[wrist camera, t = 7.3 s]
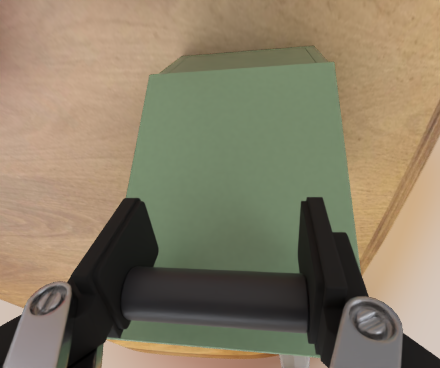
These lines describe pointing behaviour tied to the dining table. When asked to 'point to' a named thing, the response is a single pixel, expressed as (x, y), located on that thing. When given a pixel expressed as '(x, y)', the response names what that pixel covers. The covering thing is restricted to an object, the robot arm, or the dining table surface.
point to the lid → (234, 204)
